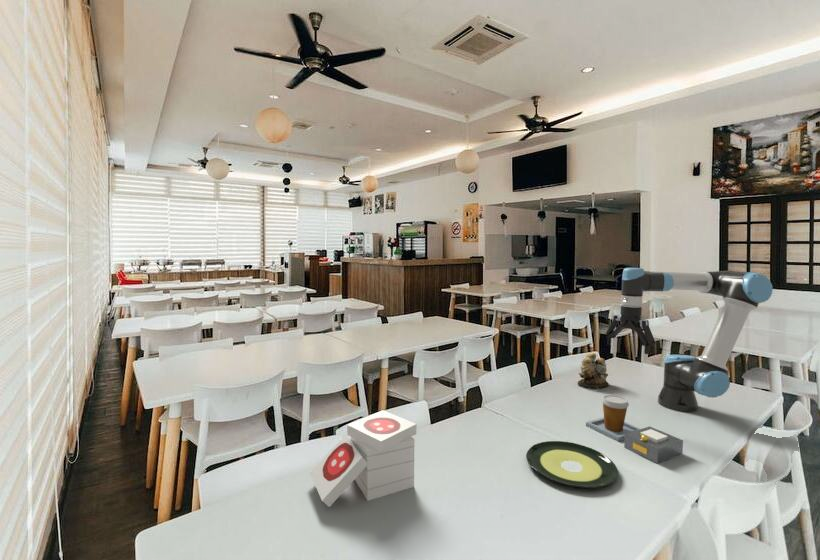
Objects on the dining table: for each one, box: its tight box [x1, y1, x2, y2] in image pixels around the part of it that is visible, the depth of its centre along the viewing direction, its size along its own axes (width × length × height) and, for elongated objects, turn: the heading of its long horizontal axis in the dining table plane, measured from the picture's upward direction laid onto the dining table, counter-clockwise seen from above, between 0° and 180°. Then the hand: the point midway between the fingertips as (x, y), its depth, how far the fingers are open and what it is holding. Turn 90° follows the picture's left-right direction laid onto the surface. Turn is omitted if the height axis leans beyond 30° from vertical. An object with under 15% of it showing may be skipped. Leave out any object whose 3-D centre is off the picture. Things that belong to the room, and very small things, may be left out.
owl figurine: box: [577, 352, 610, 390], centre depth 209 cm, size 18×12×17 cm, turn 114°
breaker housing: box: [623, 426, 684, 464], centre depth 143 cm, size 14×12×7 cm
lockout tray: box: [585, 416, 641, 442], centre depth 159 cm, size 14×14×2 cm
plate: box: [525, 440, 619, 489], centre depth 132 cm, size 28×28×2 cm
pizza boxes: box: [309, 409, 417, 508], centre depth 121 cm, size 19×30×18 cm, turn 117°
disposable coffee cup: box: [601, 394, 630, 432], centre depth 159 cm, size 10×10×12 cm
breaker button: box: [640, 429, 668, 443], centre depth 143 cm, size 6×6×6 cm
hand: (628, 357), depth 166 cm, fingers open, 13 cm apart
